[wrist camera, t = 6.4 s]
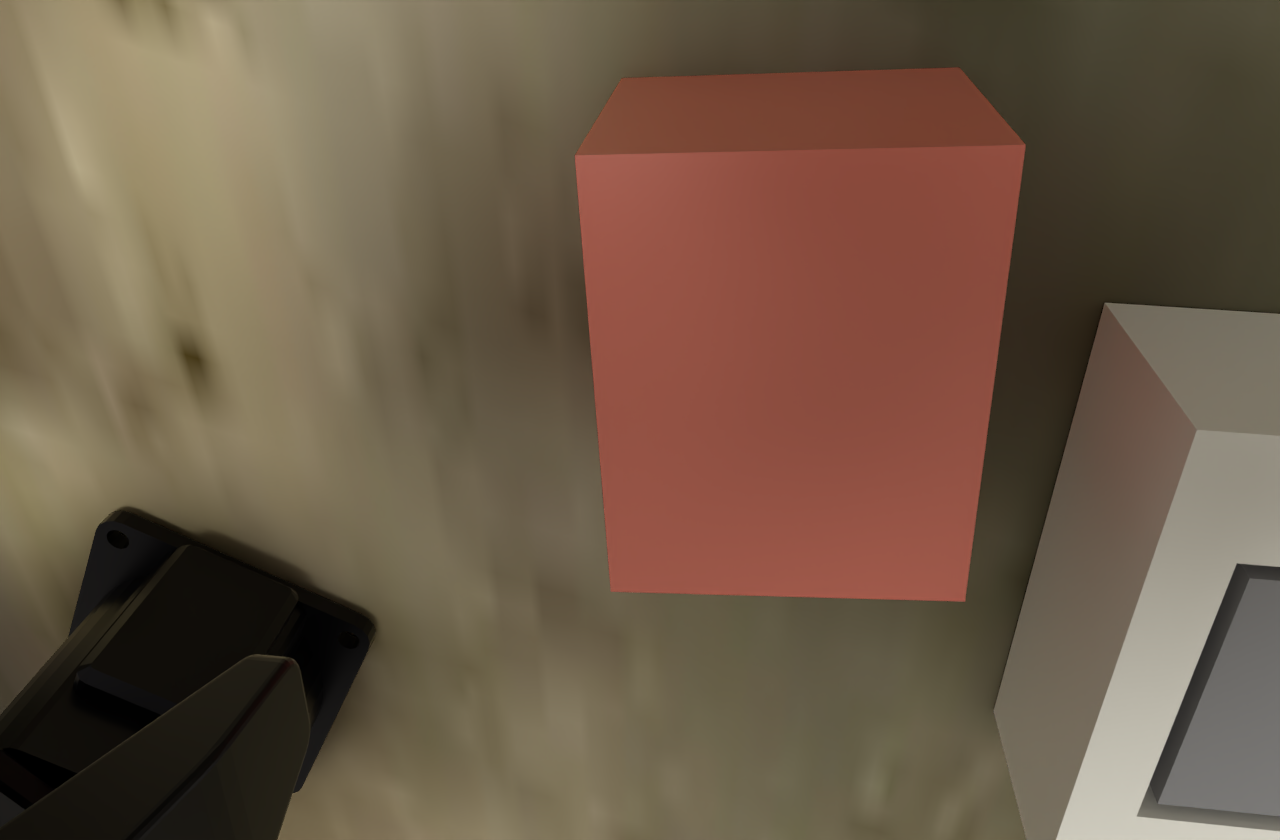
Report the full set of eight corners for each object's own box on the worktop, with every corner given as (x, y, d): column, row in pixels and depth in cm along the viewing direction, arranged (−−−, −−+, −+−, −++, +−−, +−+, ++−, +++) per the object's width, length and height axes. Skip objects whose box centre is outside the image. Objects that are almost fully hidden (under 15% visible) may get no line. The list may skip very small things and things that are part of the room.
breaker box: (1318, 742, 22) (1432, 931, 19) (993, 711, 23) (1038, 888, 19) (1524, 329, 17) (1741, 470, 14) (1104, 302, 18) (1197, 430, 14)
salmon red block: (921, 436, 20) (964, 601, 16) (643, 434, 21) (610, 591, 16) (957, 65, 17) (1026, 145, 12) (622, 76, 17) (574, 155, 13)
